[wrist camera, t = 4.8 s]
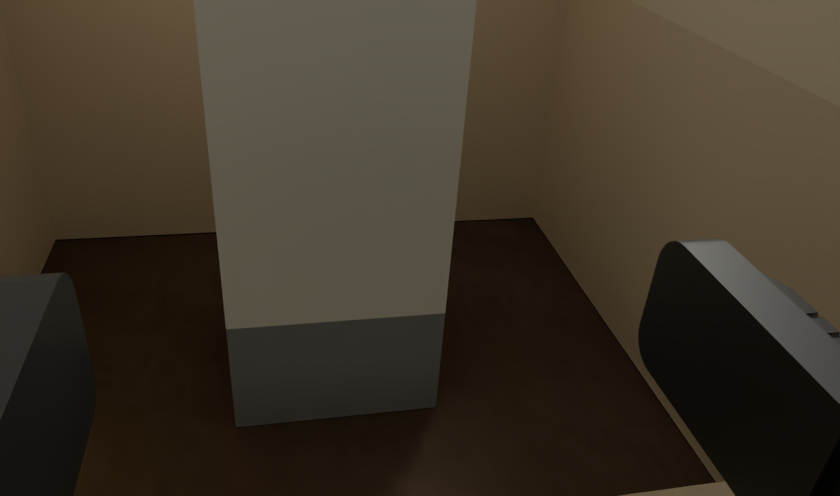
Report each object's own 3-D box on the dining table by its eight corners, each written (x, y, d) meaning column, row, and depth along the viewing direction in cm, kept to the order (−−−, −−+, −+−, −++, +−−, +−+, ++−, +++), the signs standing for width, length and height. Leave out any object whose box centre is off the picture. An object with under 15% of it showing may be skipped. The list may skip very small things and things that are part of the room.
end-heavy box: (235, 427, 17) (179, -131, 11) (237, 306, 21) (198, -148, 15) (435, 407, 18) (488, -114, 12) (401, 295, 22) (426, -135, 16)
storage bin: (-184, 694, 12) (-897, -299, 5) (40, 231, 24) (-72, -224, 18) (784, 542, 15) (1134, -141, 9) (541, 209, 28) (607, -173, 21)
